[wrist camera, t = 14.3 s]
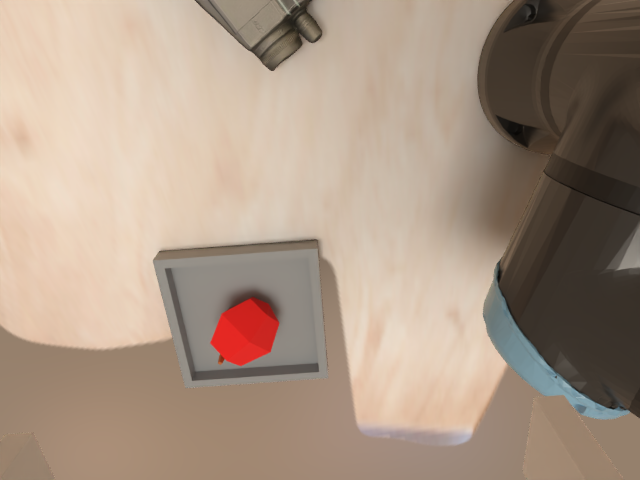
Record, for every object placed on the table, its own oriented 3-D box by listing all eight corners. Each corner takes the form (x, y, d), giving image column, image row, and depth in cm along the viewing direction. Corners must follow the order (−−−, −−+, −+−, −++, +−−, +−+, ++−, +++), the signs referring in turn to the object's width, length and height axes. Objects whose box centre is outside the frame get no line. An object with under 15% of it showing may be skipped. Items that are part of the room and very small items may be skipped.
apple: (255, 298, 43) (198, 360, 43) (299, 334, 47) (247, 392, 46) (237, 274, 49) (187, 328, 49) (278, 306, 53) (232, 357, 52)
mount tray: (317, 239, 47) (317, 248, 45) (327, 365, 54) (328, 378, 52) (159, 251, 48) (152, 260, 46) (190, 375, 55) (185, 388, 53)
